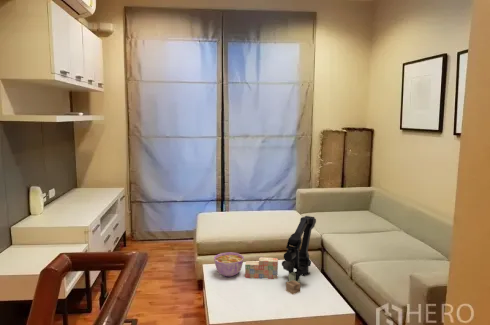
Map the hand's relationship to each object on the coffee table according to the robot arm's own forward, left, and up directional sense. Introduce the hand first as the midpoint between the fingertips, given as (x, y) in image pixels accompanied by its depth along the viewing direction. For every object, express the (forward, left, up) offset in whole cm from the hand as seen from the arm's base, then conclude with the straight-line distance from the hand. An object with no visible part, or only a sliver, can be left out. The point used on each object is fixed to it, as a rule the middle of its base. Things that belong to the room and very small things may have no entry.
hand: (294, 279), depth 244 cm
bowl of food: (+28, -34, -2) cm, 44 cm away
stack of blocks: (+12, -18, -2) cm, 22 cm away
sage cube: (0, 0, -1) cm, 1 cm away
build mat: (+11, +10, -1) cm, 15 cm away
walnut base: (+10, +10, -1) cm, 14 cm away
